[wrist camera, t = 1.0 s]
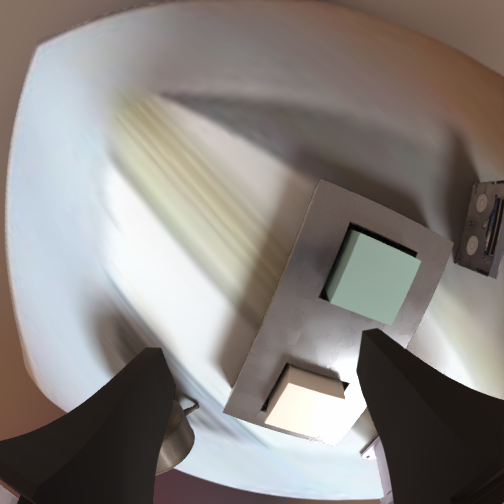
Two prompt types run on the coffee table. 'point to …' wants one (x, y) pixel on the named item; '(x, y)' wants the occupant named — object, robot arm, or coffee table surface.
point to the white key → (304, 401)
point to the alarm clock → (176, 439)
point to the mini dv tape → (483, 230)
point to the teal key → (370, 277)
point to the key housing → (331, 307)
